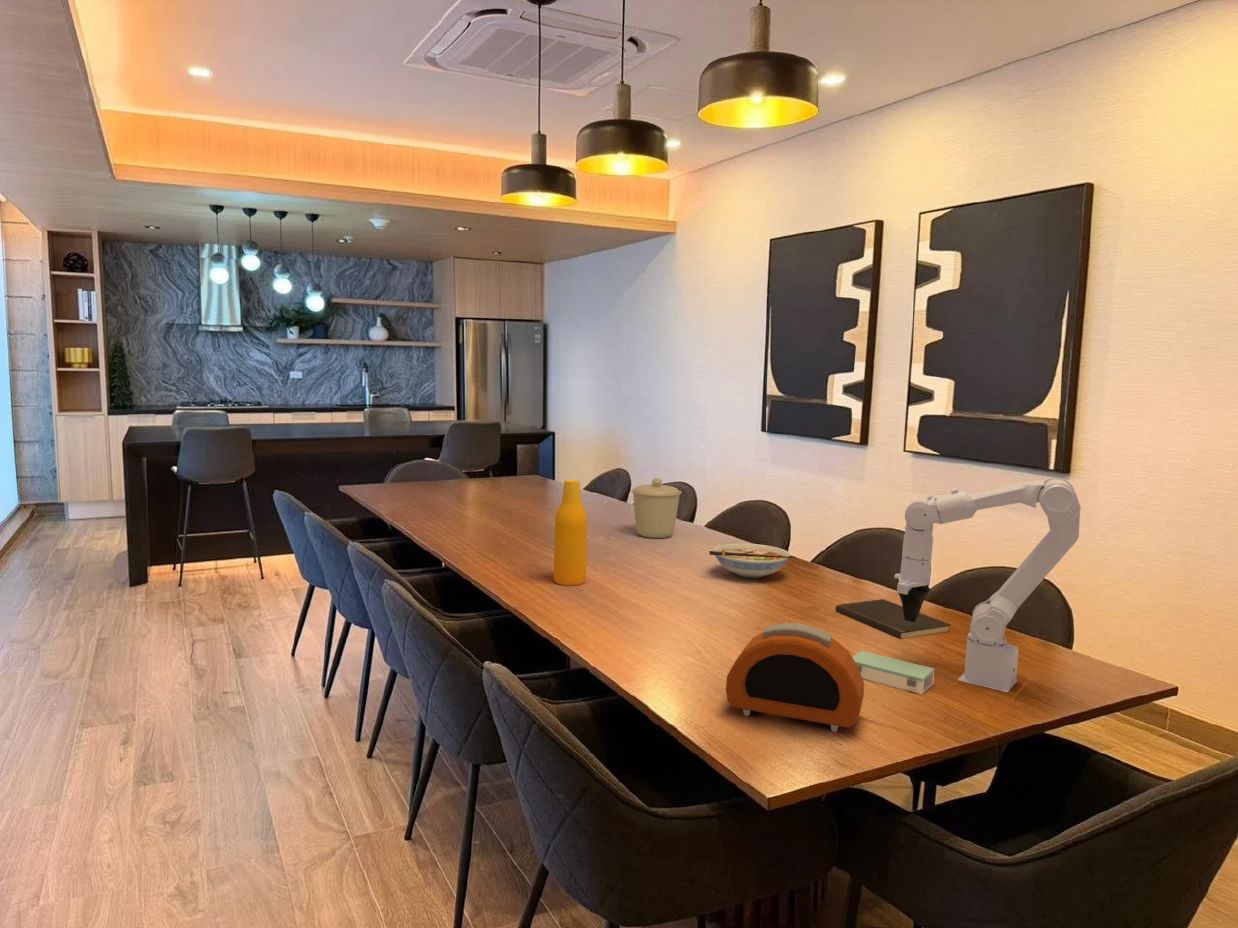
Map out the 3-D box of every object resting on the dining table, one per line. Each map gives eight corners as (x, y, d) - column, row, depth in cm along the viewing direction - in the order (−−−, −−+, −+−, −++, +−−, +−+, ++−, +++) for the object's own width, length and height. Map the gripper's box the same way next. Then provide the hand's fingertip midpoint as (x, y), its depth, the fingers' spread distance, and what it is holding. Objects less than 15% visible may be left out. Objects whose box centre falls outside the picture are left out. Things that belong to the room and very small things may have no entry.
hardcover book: (882, 607, 221) (883, 598, 220) (950, 633, 200) (950, 624, 200) (835, 613, 214) (835, 604, 214) (899, 641, 193) (900, 631, 193)
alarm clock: (723, 713, 149) (727, 623, 147) (735, 695, 158) (739, 610, 156) (858, 737, 141) (864, 643, 139) (862, 717, 149) (868, 627, 147)
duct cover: (934, 671, 164) (934, 668, 164) (922, 681, 159) (923, 678, 159) (861, 653, 174) (861, 650, 173) (848, 662, 168) (848, 659, 168)
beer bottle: (566, 587, 228) (569, 484, 225) (547, 580, 235) (548, 479, 232) (592, 582, 234) (595, 481, 231) (572, 575, 241) (574, 477, 238)
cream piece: (933, 686, 165) (934, 671, 164) (920, 697, 159) (921, 682, 158) (860, 667, 174) (861, 653, 174) (846, 677, 168) (847, 663, 168)
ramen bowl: (788, 568, 258) (789, 542, 257) (796, 588, 235) (798, 559, 234) (707, 564, 260) (709, 538, 259) (708, 583, 238) (709, 555, 237)
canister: (626, 539, 294) (628, 480, 291) (634, 529, 311) (635, 473, 309) (677, 542, 291) (679, 483, 288) (681, 532, 309) (684, 476, 306)
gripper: (909, 548, 179) (903, 608, 181) (884, 559, 168) (878, 623, 170) (942, 554, 175) (936, 616, 177) (919, 566, 164) (913, 632, 166)
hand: (910, 620), depth 173 cm, fingers closed
